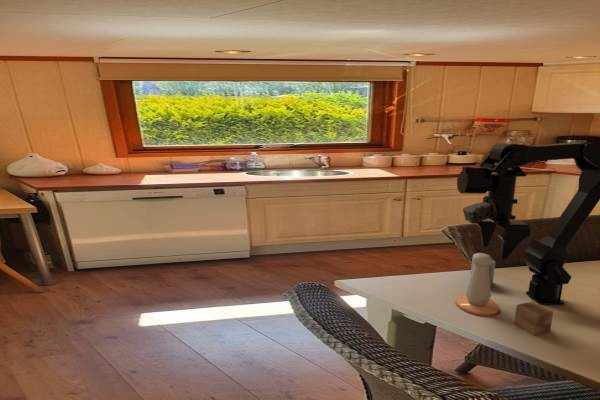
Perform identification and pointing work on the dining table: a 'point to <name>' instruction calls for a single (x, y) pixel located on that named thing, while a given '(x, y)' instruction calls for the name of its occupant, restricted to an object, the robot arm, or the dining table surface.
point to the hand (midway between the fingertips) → (493, 252)
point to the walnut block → (533, 318)
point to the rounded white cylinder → (491, 271)
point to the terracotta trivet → (485, 310)
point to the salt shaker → (479, 280)
